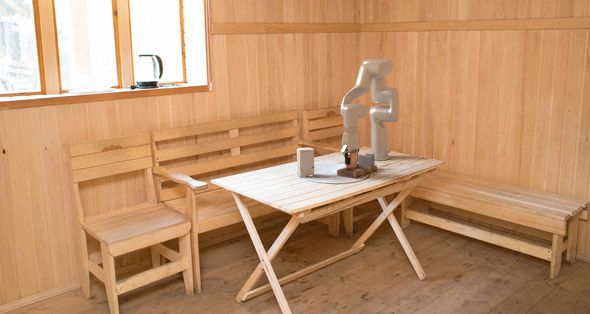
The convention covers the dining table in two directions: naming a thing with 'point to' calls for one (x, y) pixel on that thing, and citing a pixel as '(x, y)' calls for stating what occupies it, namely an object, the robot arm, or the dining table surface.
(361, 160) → the pusher
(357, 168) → the brown wooden tray
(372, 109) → the robot arm
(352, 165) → the jar
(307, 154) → the skincare box
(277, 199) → the dining table surface
